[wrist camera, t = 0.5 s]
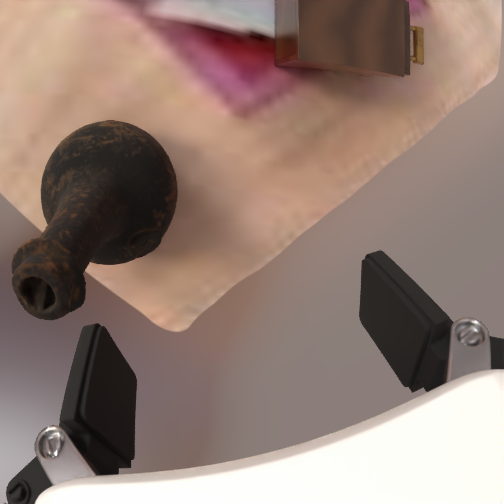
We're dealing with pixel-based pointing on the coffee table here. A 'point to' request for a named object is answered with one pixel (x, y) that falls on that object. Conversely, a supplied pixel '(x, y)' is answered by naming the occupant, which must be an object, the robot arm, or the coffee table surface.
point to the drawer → (417, 41)
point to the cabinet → (341, 36)
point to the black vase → (94, 213)
